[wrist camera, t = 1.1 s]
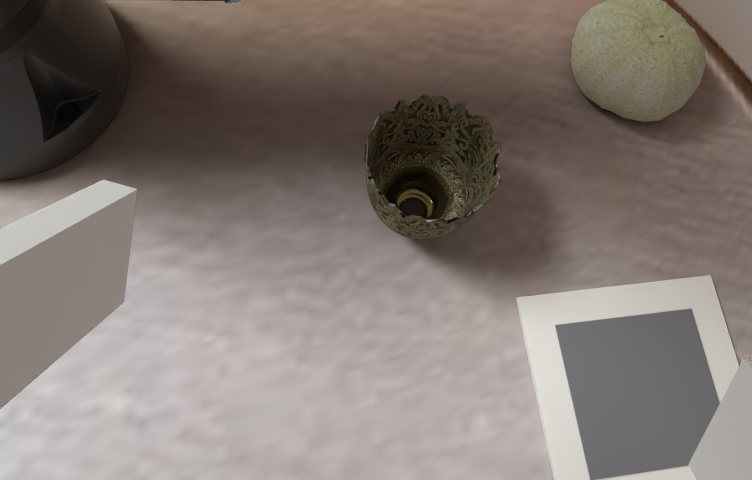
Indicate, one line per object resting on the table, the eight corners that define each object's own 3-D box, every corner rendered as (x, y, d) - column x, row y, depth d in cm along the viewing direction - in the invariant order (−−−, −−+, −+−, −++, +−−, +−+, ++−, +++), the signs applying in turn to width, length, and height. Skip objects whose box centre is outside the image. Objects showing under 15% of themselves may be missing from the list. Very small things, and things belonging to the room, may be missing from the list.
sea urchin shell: (666, -16, 48) (745, -6, 41) (656, 91, 51) (727, 117, 44) (550, 0, 46) (612, 14, 39) (548, 109, 50) (604, 140, 43)
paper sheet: (515, 298, 41) (517, 296, 40) (708, 276, 42) (711, 274, 42) (562, 523, 37) (565, 523, 36) (774, 488, 38) (778, 489, 38)
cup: (360, 152, 43) (370, 85, 36) (471, 164, 44) (503, 100, 36) (350, 259, 41) (359, 211, 33) (467, 271, 41) (502, 226, 34)
